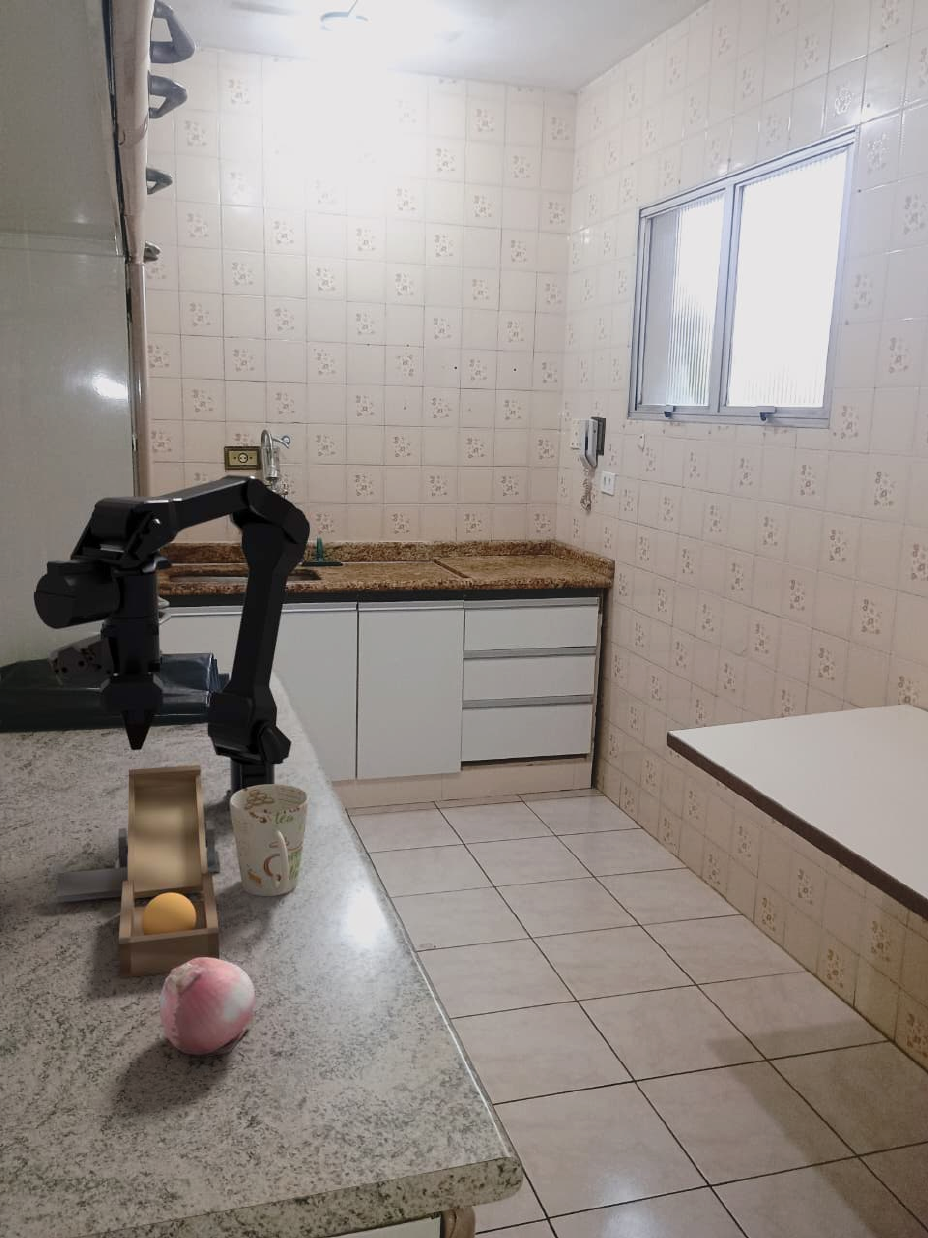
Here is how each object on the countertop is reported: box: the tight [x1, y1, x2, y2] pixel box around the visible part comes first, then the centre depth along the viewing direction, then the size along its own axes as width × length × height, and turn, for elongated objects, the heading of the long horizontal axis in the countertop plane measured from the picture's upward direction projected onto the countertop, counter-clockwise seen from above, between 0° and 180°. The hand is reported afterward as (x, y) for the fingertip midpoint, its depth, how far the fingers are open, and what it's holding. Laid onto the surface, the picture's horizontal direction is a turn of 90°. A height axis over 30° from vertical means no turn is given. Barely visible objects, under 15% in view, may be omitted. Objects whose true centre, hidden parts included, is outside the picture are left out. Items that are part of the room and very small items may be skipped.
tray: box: [118, 873, 220, 979], centre depth 97 cm, size 13×9×3 cm
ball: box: [142, 893, 196, 936], centre depth 95 cm, size 5×5×5 cm
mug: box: [229, 783, 309, 897], centre depth 106 cm, size 8×13×10 cm, turn 25°
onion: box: [158, 957, 256, 1059], centre depth 81 cm, size 8×8×7 cm
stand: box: [114, 820, 221, 874], centre depth 111 cm, size 4×11×5 cm, turn 107°
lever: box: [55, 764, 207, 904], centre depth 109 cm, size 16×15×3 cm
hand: (136, 749), depth 112 cm, fingers closed
